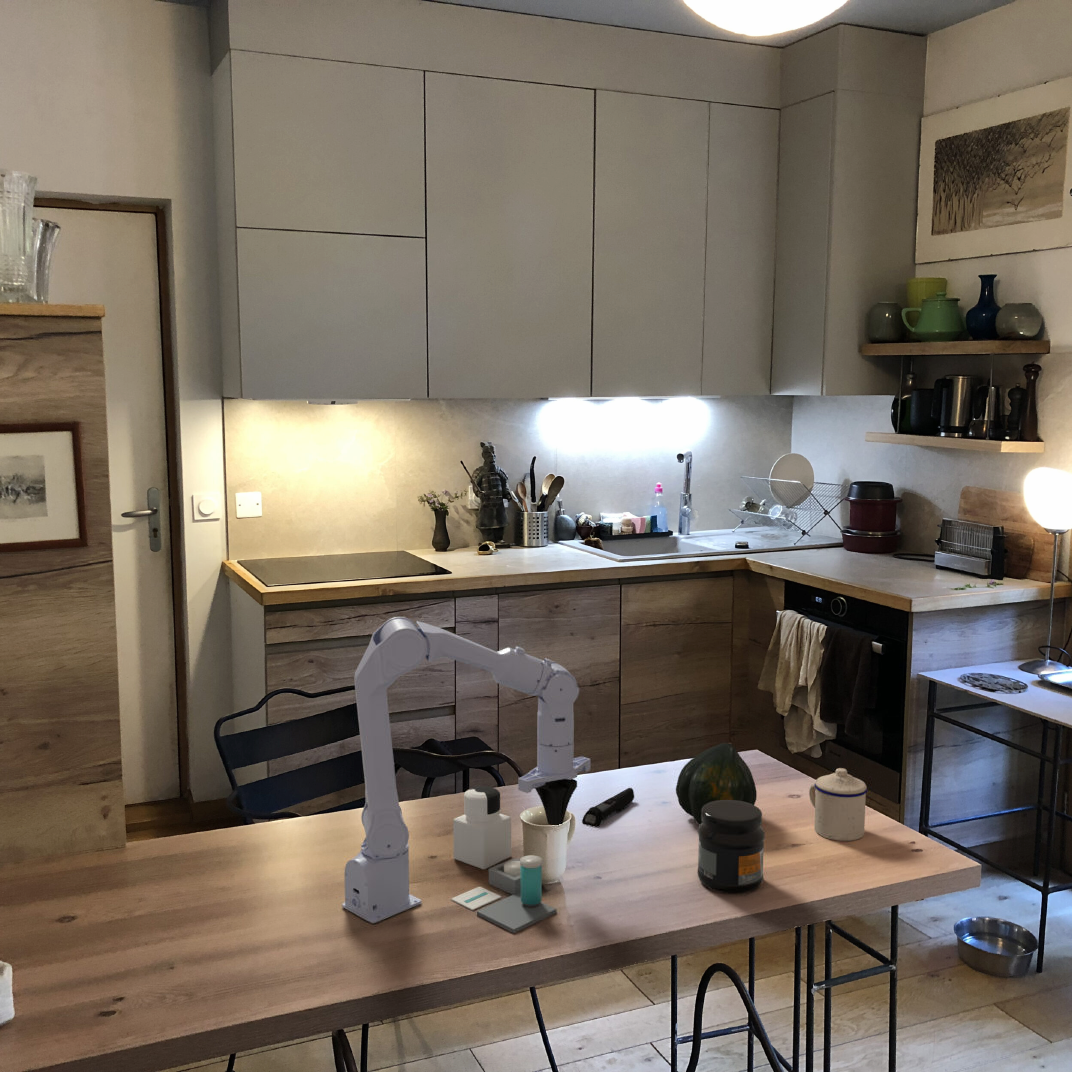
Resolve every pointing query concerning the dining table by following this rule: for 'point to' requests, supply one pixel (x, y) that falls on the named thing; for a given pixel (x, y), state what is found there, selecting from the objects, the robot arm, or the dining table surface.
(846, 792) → the teacup with lid
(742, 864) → the supplement container
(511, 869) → the button
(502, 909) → the board
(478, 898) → the card
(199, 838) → the dining table surface
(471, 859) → the medicine bottle
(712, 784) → the squash
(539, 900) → the marker
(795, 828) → the dining table surface
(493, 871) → the button box
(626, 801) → the electric trimmer
